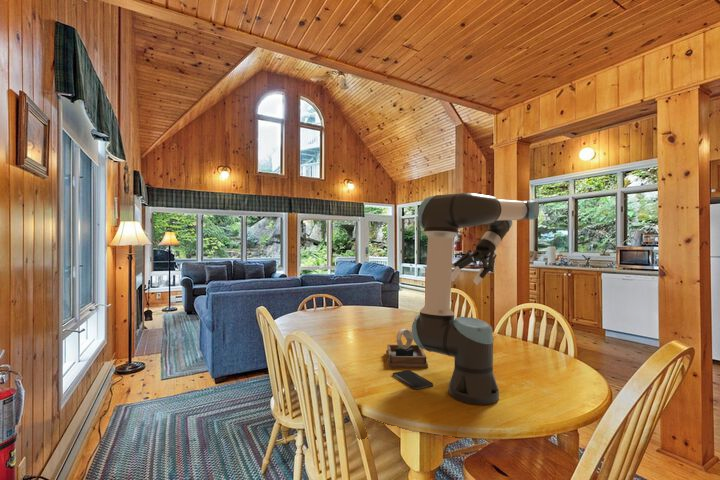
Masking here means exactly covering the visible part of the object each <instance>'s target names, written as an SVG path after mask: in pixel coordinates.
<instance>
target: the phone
mask: <svg viewBox="0 0 720 480" xmlns="http://www.w3.org/2000/svg"><path fill="white" fill-rule="evenodd" d="M392 377H393V378H395V379H396V378H397V379H396V380H398V381H399V382H401V383H403V384H404V385H406V386H407V387H408V388H410V389H412V390H413V391H421V390H425V389H429V388H433V387H434V383H433V382H431V381H430V380H428V379H426V378H425V377H423V376H421V375H419V374H418V373H416V372H415V371H412V370H410V369H405V370H401V371H395V372H392Z"/></svg>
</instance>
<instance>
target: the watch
mask: <svg viewBox="0 0 720 480" xmlns="http://www.w3.org/2000/svg"><path fill="white" fill-rule="evenodd" d="M402 335H403V337H404V338H405V340H406V342H405V344H403V340H402ZM395 341H396V343H397V344H396V345H398V346H399V347H398V348H396V356H413V349H412V348H409V347H410V346H411V345H412V344H413V341H414V340H413V336H412V329H411V330H410V329H409V328H401V329H399V330H398V331H397V334H396V340H395ZM403 345H405V346H403Z"/></svg>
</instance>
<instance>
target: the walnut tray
mask: <svg viewBox="0 0 720 480" xmlns="http://www.w3.org/2000/svg"><path fill="white" fill-rule="evenodd" d="M405 345H406V344H403V346H405ZM398 347H399V346H398V344H387V345H386V348H387V349H386V350H385V356H386V361H387V367H388V369H428V368H429V364H428V361H427V355H426V353H425V352H424V349H422V348H420V347H418V346H417V344H411V346H410V347H409V348H412V349H413V356H396V348H398Z"/></svg>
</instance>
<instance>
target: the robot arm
mask: <svg viewBox="0 0 720 480" xmlns="http://www.w3.org/2000/svg"><path fill="white" fill-rule="evenodd" d="M539 215H540V205H539V203H538V201H536V200H515V199H514V200H511V199H498V198H497V197H495V196H492V195H486V194H482V193H481V194H480V193H473V192H460V193H449V194H448V193H447V194H436V195H433V196H428V197H426V198H424V200H423V201H421V203H420V205H419V207H418V211H417V220H418V225H419V226H420V227H421V228H422V229H423V233H424V235H425V236H426V237H427V250H426V268H425V269H426V270H425V271H426V273H425V290H424V292H425V293H424V306H423V307H422V308H421V309H420V310H419V314H418V315H417V316H416V317H414V319H413V321H412V325H411V331H412V336H413V341H414V343H415V345H417V346H418V347H420V348H422V349H423V350H425V351H426V352H429V353H431V352H432V353H437V354H440V355H444V356H448V357H452V358H453V361H454V368H453V371H452V374H451V377H450V381H449V383H448V393H449V396H450V397H452V398H453V399H455V400H456V401H457V400H458V401H460V402H463V403H464V404H465V403H466V404H469V405H476V406H477V405H478V406H480V405H481V406H485V405H491V404H494V403H496V402H498V401H499V400H500V390H499V387H498V384H497V379H496V377H495V374H494V333H493V327H492V326H491V325H490V323H488V322H487V321H484V320H482V319H479V318H475V317H469V316H459V317H456V318H455V312H454V311H453V310H452V309H451V296H452V294H451V291H452V282H454V281H455V280H456V279H457V277H458V276H459V274H460V273H461V272H462V269H463V268H465V267H467V266H469V265H470V264H472V263H475V262H479V263H480V262H481V263H482V268H480V269H479V271H478V272H477V274H476V275H475V277H474V278H473V280H472V281H473V283H474V284H475V285H476V286H479V284H480V283H481V281H482V279H484V278H485V277H486V276H487V273H489V272H490V273H493V272H494V270H495V263H496V262H495V260H496V257H497V254H496V253H495V251H496V249H497V248H498V247H499V245H500V244H501V243H502V241H503V239H504V237H505V236H506V235H507V234H508V232H509V231H510V229H511V228H512V226H513V221H531V220H536V219H538V217H539ZM481 225H487V226H488V228H487V230H486V231H485V233H484V234H483V235H482V237H481V238H480V240H479V241H478V242H477V244H476V247H475V250H473V251H472V250H471V249H469V250H468V251H467V252H466V253H465V254H463V256H462V257H460V258H459V259H457V260H456V261H455V262H454V263H453V252H454V251H453V248H454V247H453V246H454V238H455V237H457V236H458V234H459V229H463V228H471V227H477V226H481ZM452 265H453V266H454V269H453V266H452Z"/></svg>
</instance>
